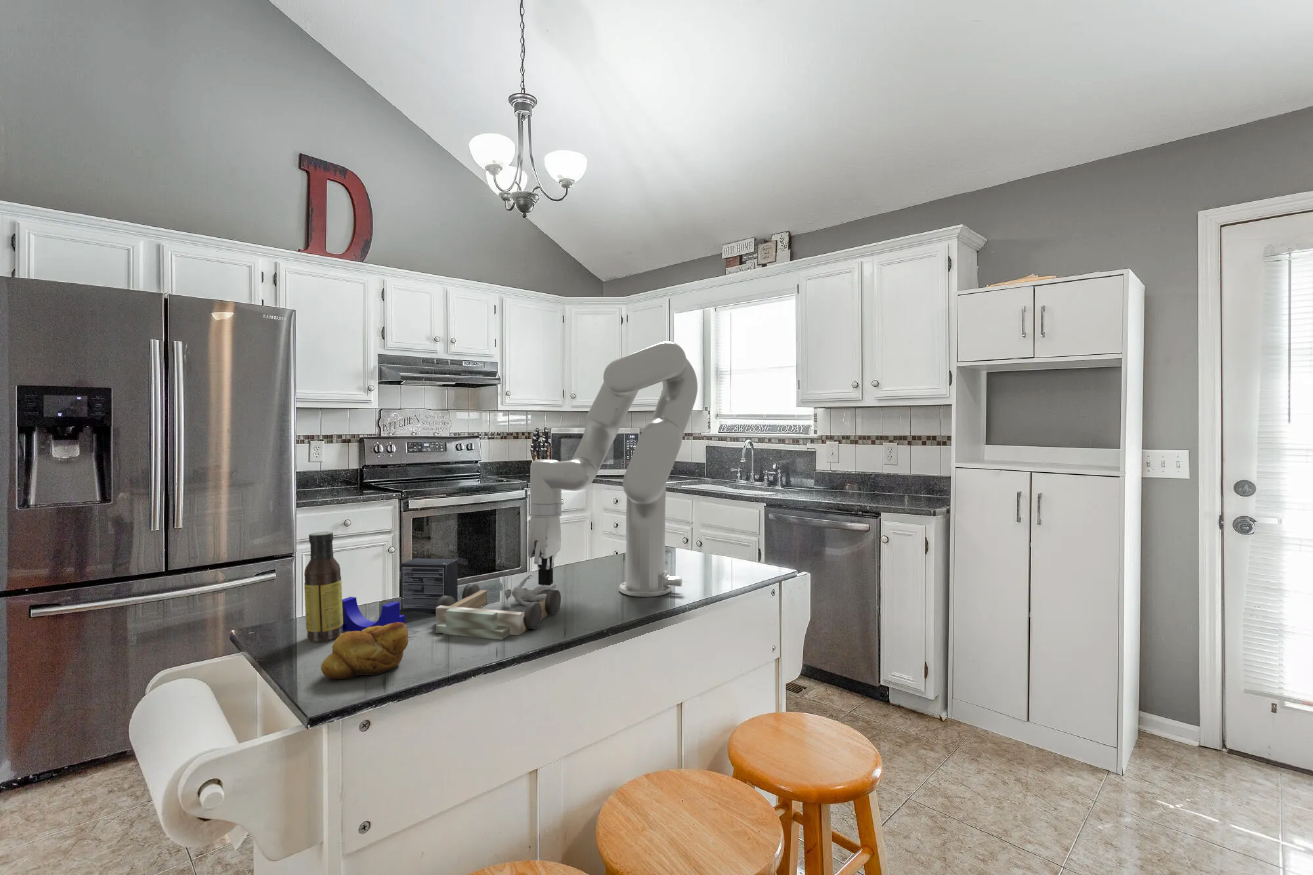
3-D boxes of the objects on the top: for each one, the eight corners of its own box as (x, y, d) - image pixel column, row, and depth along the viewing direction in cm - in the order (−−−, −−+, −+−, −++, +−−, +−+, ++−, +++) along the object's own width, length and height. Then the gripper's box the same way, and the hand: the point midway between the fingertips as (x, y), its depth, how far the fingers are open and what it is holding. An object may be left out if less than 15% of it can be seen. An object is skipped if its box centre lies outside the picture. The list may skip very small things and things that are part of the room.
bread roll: (325, 690, 96) (324, 638, 96) (315, 669, 104) (315, 621, 104) (412, 671, 104) (412, 622, 103) (397, 653, 111) (397, 608, 111)
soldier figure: (562, 606, 144) (518, 599, 136) (549, 617, 146) (505, 611, 138) (555, 577, 149) (512, 569, 141) (543, 588, 151) (500, 581, 143)
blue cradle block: (405, 630, 124) (405, 600, 124) (388, 637, 120) (388, 606, 120) (356, 624, 128) (356, 594, 128) (338, 631, 123) (338, 600, 123)
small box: (459, 604, 141) (459, 558, 141) (446, 613, 135) (446, 564, 135) (414, 603, 142) (414, 556, 142) (399, 611, 136) (399, 563, 136)
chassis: (561, 609, 137) (561, 587, 137) (519, 641, 118) (519, 614, 117) (475, 602, 143) (475, 580, 142) (420, 631, 123) (420, 606, 123)
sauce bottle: (346, 630, 123) (345, 529, 122) (338, 641, 117) (338, 534, 116) (310, 633, 121) (309, 530, 121) (300, 644, 115) (299, 536, 115)
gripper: (544, 505, 163) (544, 576, 163) (517, 513, 148) (517, 591, 148) (571, 506, 161) (571, 578, 161) (547, 514, 146) (547, 593, 147)
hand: (545, 584), depth 155 cm, fingers closed
